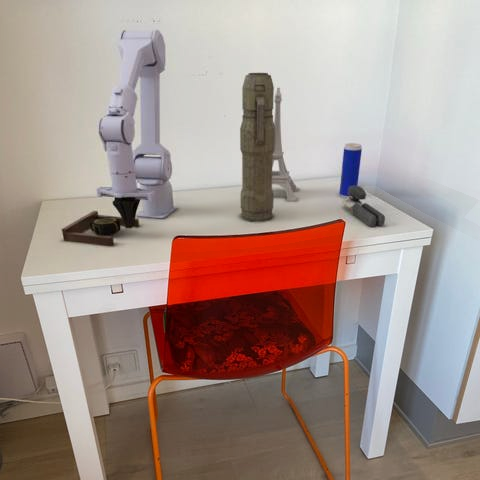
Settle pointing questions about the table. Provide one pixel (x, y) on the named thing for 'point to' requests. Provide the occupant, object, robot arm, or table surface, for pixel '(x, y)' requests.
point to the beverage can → (350, 168)
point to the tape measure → (105, 226)
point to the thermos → (257, 147)
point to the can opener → (362, 207)
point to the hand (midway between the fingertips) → (130, 226)
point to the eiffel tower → (281, 156)
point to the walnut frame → (82, 224)
